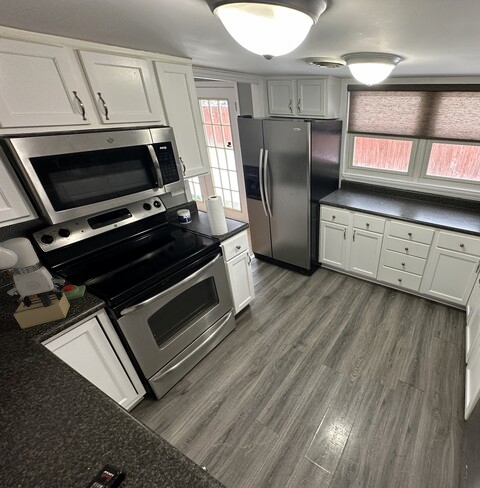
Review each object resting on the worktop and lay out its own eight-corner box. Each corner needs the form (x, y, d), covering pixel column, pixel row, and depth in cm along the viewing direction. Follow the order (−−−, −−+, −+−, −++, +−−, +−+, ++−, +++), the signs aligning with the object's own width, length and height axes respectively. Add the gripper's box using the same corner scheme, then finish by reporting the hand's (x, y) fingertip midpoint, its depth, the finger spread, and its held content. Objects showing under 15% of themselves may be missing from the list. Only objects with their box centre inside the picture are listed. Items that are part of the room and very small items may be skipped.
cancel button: (63, 292, 130) (62, 289, 129) (65, 289, 133) (63, 286, 132) (73, 290, 132) (71, 287, 131) (74, 287, 134) (73, 284, 134)
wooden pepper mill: (20, 306, 125) (1, 274, 117) (17, 301, 128) (-2, 270, 120) (39, 299, 130) (23, 268, 122) (35, 295, 133) (19, 264, 125)
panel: (56, 303, 128) (53, 297, 126) (60, 294, 135) (57, 287, 133) (83, 297, 133) (80, 291, 131) (86, 288, 139) (83, 282, 138)
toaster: (22, 329, 112) (13, 314, 109) (29, 315, 120) (21, 301, 116) (65, 318, 119) (58, 304, 115) (70, 306, 126) (63, 292, 123)
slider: (44, 307, 113) (39, 298, 111) (46, 303, 115) (41, 294, 113) (49, 306, 114) (45, 296, 112) (51, 302, 116) (47, 293, 114)
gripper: (-8, 277, 99) (13, 313, 107) (54, 266, 108) (70, 300, 115) (0, 268, 105) (20, 303, 112) (58, 259, 114) (73, 291, 121)
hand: (45, 301), depth 114 cm, fingers open, 9 cm apart
